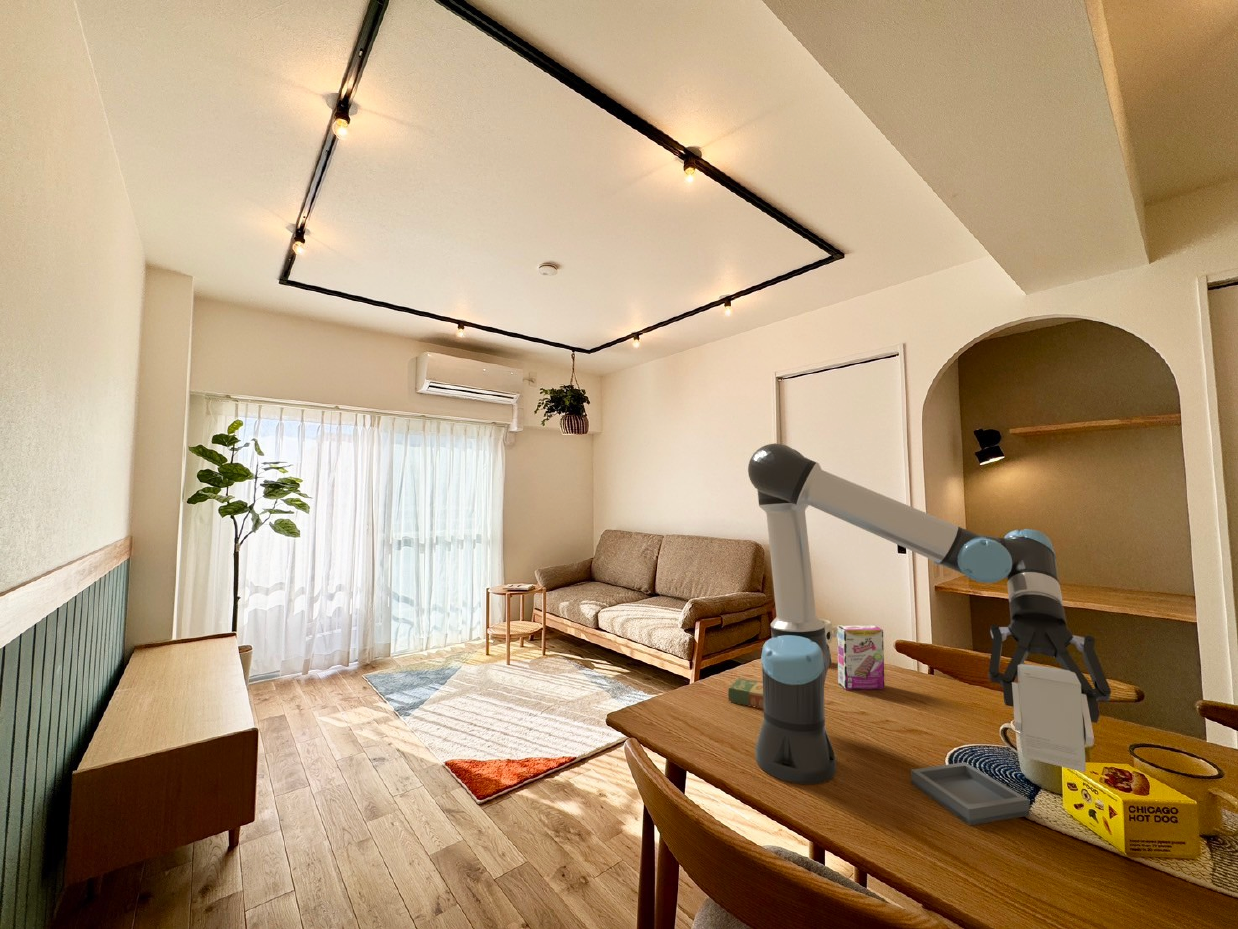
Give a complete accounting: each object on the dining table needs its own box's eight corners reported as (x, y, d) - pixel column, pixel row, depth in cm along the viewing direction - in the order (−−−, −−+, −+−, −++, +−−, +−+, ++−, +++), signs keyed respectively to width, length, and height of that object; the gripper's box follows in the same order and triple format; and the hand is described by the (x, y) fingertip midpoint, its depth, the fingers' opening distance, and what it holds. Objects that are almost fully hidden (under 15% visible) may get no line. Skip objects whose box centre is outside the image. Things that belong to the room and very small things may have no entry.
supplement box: (1087, 774, 72) (1082, 684, 73) (1021, 757, 76) (1017, 673, 77) (1080, 753, 78) (1075, 670, 79) (1020, 739, 82) (1016, 661, 83)
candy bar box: (846, 690, 136) (844, 629, 137) (837, 684, 141) (835, 625, 142) (886, 690, 136) (883, 629, 137) (876, 683, 141) (874, 624, 142)
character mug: (808, 667, 155) (807, 624, 156) (799, 659, 162) (798, 619, 163) (843, 666, 155) (841, 623, 156) (832, 658, 162) (830, 618, 163)
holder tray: (969, 825, 80) (968, 809, 80) (911, 783, 92) (910, 769, 92) (1029, 815, 82) (1029, 799, 82) (965, 775, 94) (964, 762, 94)
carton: (791, 717, 120) (790, 699, 120) (727, 703, 129) (727, 686, 129) (799, 705, 127) (798, 688, 127) (738, 692, 136) (738, 676, 136)
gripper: (1111, 625, 85) (1145, 765, 71) (967, 609, 97) (970, 727, 82) (1117, 599, 81) (1154, 741, 67) (965, 586, 93) (969, 705, 78)
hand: (1052, 733), depth 75 cm, fingers closed on supplement box, 7 cm apart
